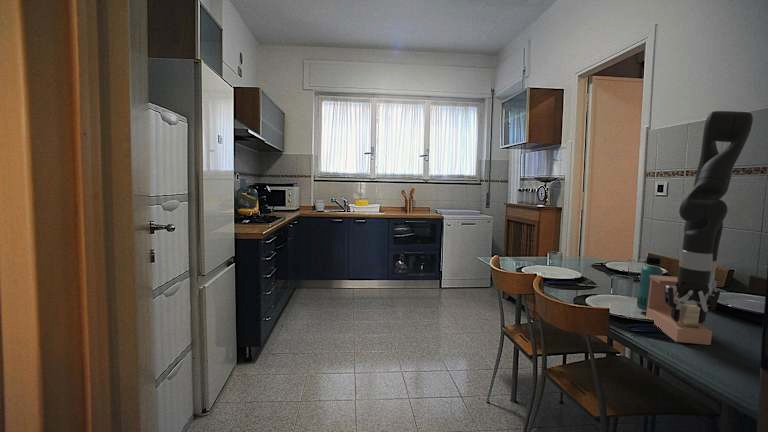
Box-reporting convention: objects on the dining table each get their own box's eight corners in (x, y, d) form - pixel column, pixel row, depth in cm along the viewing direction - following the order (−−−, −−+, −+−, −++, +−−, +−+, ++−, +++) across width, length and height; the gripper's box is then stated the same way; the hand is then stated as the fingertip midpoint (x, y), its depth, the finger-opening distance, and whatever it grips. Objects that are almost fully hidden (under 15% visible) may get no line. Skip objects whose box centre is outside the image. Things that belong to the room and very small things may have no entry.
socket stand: (676, 321, 132) (682, 277, 130) (712, 345, 114) (719, 294, 112) (644, 318, 134) (649, 274, 132) (674, 341, 116) (681, 291, 114)
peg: (695, 340, 117) (700, 307, 116) (682, 339, 118) (687, 306, 116) (688, 335, 120) (693, 303, 119) (676, 334, 121) (680, 303, 120)
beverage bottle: (654, 310, 141) (661, 255, 138) (660, 317, 135) (668, 259, 132) (633, 308, 143) (640, 253, 140) (638, 314, 137) (645, 257, 134)
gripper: (675, 267, 114) (667, 324, 116) (731, 271, 111) (722, 328, 114) (661, 261, 121) (654, 314, 123) (713, 265, 119) (706, 319, 121)
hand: (687, 321), depth 118 cm, fingers open, 6 cm apart
